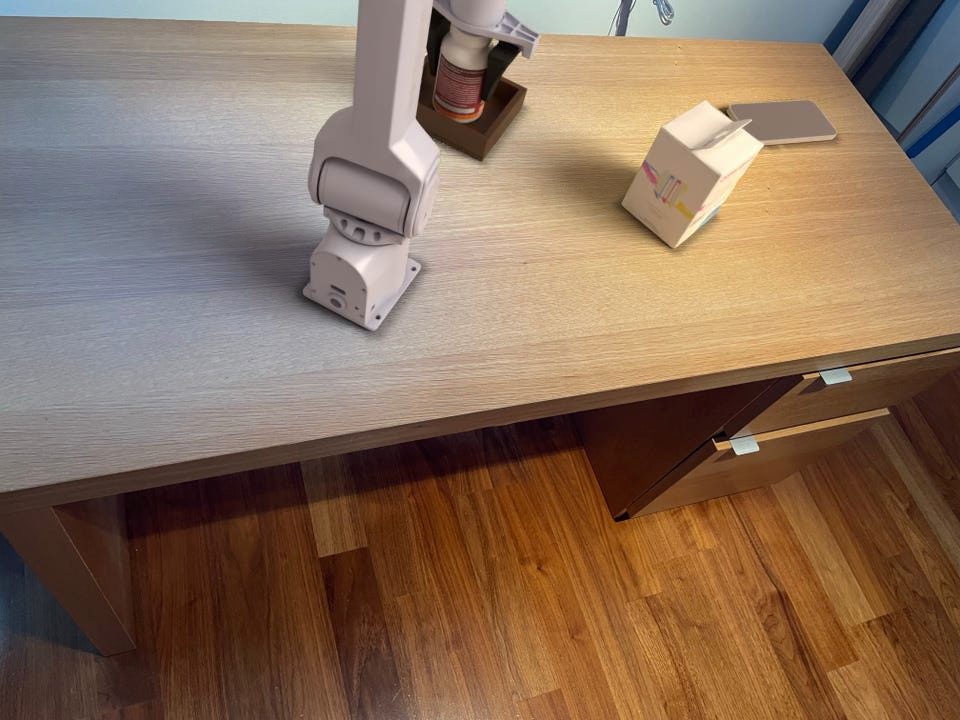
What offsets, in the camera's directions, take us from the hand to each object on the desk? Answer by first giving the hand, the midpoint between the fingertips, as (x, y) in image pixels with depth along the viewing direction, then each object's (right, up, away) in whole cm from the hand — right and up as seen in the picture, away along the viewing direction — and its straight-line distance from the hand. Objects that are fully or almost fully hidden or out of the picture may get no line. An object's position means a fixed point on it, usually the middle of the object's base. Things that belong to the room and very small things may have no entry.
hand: (461, 84), depth 79 cm
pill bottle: (-1, -2, +3) cm, 4 cm away
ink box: (+24, -15, +1) cm, 28 cm away
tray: (-1, -2, +3) cm, 4 cm away
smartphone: (+43, 0, +14) cm, 46 cm away
